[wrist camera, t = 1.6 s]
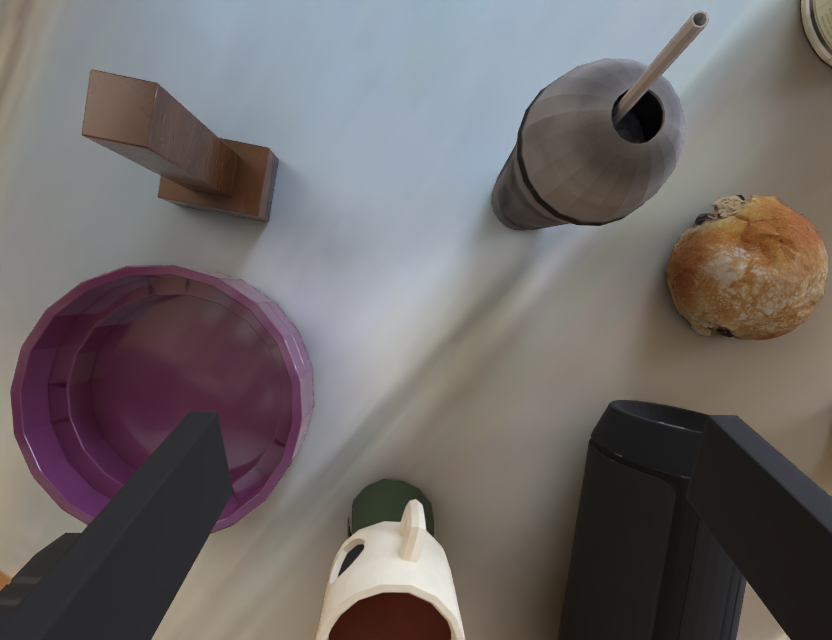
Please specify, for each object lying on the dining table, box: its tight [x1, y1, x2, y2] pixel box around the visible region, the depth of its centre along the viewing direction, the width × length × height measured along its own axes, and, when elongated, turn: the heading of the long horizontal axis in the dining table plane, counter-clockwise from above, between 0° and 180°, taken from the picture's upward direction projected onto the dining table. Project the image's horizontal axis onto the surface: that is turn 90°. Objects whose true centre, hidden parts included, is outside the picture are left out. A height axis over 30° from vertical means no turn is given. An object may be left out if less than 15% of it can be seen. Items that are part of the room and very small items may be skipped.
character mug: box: [316, 479, 465, 640], centre depth 27 cm, size 11×7×13 cm, turn 164°
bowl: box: [10, 265, 314, 534], centre depth 30 cm, size 17×17×5 cm
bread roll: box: [666, 195, 829, 340], centre depth 31 cm, size 10×10×8 cm
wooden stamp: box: [82, 70, 278, 222], centre depth 25 cm, size 6×4×12 cm
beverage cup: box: [491, 11, 709, 230], centre depth 23 cm, size 7×7×20 cm
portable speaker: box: [558, 400, 747, 640], centre depth 30 cm, size 26×10×10 cm, turn 172°
